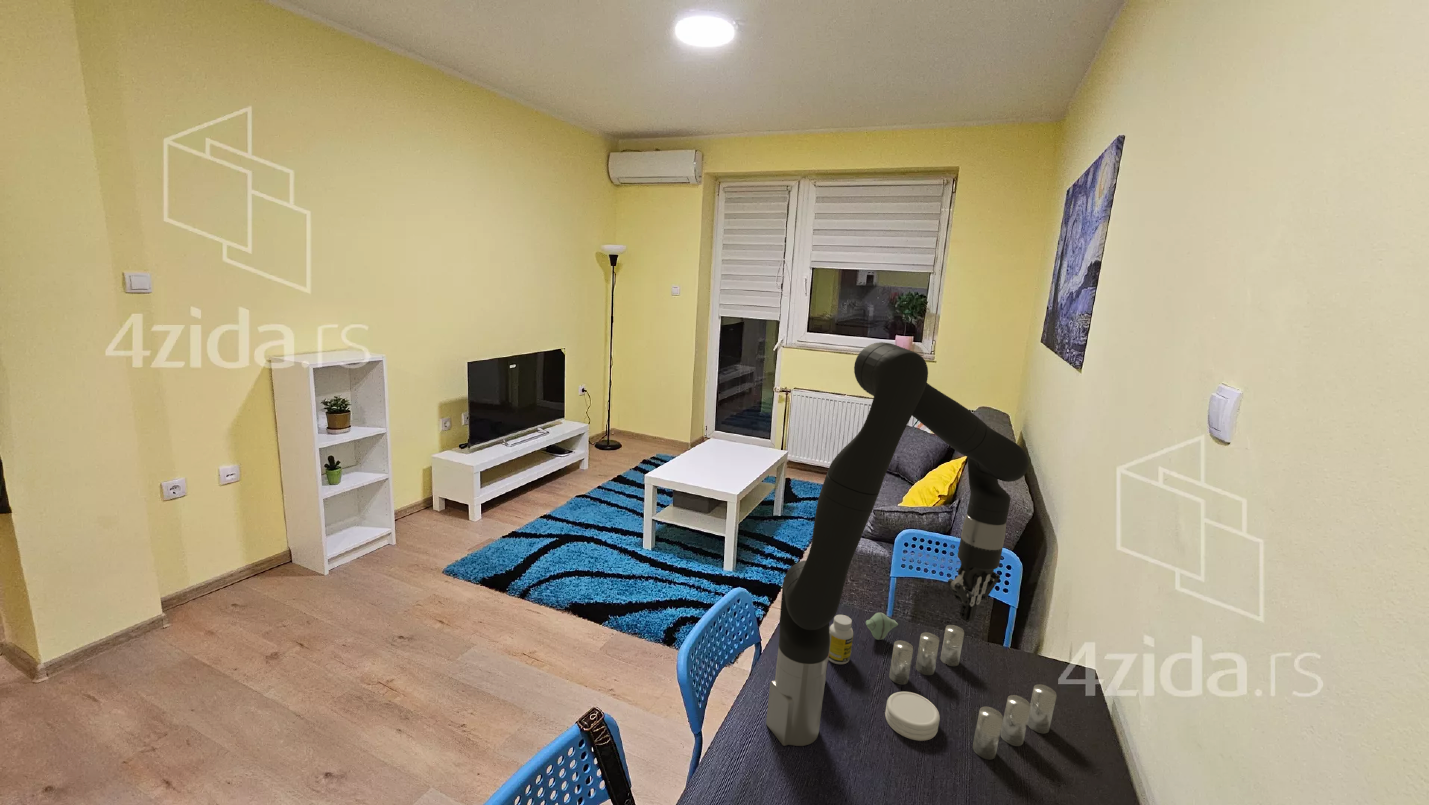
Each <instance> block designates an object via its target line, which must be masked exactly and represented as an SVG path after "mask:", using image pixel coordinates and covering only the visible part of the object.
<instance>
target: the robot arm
mask: <svg viewBox="0 0 1429 805" xmlns="http://www.w3.org/2000/svg"><path fill="white" fill-rule="evenodd" d="M853 370H854V371H853V373H854V376H855V379H856V381H857V384H858V385H859V386H860V388H862V389H863V391H865V392H866V393H867V394H869V395H871V396H873V398H872V402H871V405H870V408H869V411H868V414H867V416H866V419H865V421H864V423H863V426H862V427H861V429H860V431H859V432H858V433H857V434H856V436H855V437H854V438H853V439H852V440H850V442H848V443H847V444H846V445H845V447H843V449H841V450H840V451H839V452H838V454H837V455H836V456H835V457H834V458H833V460H832V462H831V463H830V465H829V467H828V470H827V471H826V472H827V473H826V475H825V478H824V480H823V484H822V486H821V489H820V492H819V496H818V498H817V499H818V500H817V504H816V508H815V515H814V522H813V531H812V538H811V543H810V549H809V551H808V552H809V553H808V554H807V557H806V560H802V561H798V562H797V563H795V564H793V565H791V567H790V568H789V569H788V570H787V572H786V573H785V576H784V579H783V583H782V588H781V589H782V591H781V601H780V612H779V613H780V615H779V631H778V632H779V635H778V636H779V637H778V648H777V657H776V667H775V677H774V680H770V684H769V693H768V702H767V712H766V714H767V715H766V721H765V722H766V724H765V725H766V726H767V728H768V729H770V731H771V732H772V733H773V735H774V736H775V738H777V741H779V742H780V743H781V745H782V746H784V747H785V746H788V745H789V746H796V747H803V746H807V745H810V744H813V743H814V742H815V741H816V740H817V739H818V736H819V732H820V724H821V717H822V716H821V715H822V709H823V701H824V692H825V686H826V685H825V684H826V682H825V678H826V679H827V676H826V670H827V671H828V668H827V663H828V664H829V660H828V655H829V647H830V633H829V628H830V623H831V621H832V620H834V617H835V616H836V615H837V612H838V609H839V607H840V603H841V599H842V595H843V591H844V588H845V583H846V579H847V576H848V572H849V569H850V566H851V562H852V560H853V557H854V555H855V552H856V551H857V549H858V546H859V544H860V541H861V539H862V536H863V534H864V531H865V529H866V526H867V524H868V521H869V519H870V516H871V515H872V512H873V510H874V507H875V504H876V502H877V500H878V497H879V494H880V492H881V488H882V485H883V482H884V479H885V476H886V474H887V473H888V472H887V471H888V469H889V467H890V465H891V462H892V459H893V457H894V454H895V452H896V450H897V447H898V445H899V443H900V440H901V438H902V436H903V434H904V432H905V430H906V428H907V426H908V425H909V424H908V423H909V422H910V420H911V419H912V417H913V418H914V419H916V421H918V422H919V423H920V424H922V425H923V426H924V427H926V428H927V429H928V430H929V431H930V432H932V433H933V434H934V435H935V436H936V437H938V438H939V439H941V441H943V442H944V443H945V444H947V445H948V446H950V447H951V448H952V449H954V451H956V452H958V453H959V454H960V455H963V456H964V457H967V474H968V484H969V485H968V486H969V492H970V495H969V498H968V506H967V512H966V515H965V517H964V521H963V525H962V528H961V529H962V530H961V536H960V540H959V546H958V552H957V558H958V559H959V562H960V567H959V568H958V571H957V576H956V577H955V578H954V579H952V578H949V579H948V580H947V584H948V587H949V589H950V591H951V593H952V595H953V597H954V599H955V600H957V601H958V602H959V603H961V606H960V611H959V617H960V619H962V620H963V621H964V622H966V623H970V622H974V620H975V616H976V613H977V607H978V605H980V603H981V601H986V599H987V598H988V597H989V595H990V594H991V592H992V590H994V588H995V587H996V584H997V583H998V582H999V581H1000V579H1001V575H1000V574H998V573H996V572H995V571H994V570H996V569H998V568H999V567H1000V562H1001V558H1002V552H1003V548H1004V543H1005V537H1006V532H1007V531H1006V530H1007V519H1008V516H1009V510H1010V506H1011V497H1010V495H1009V493H1008V492H1007V491H1006V490H1005V489H1004V488H1003V487H1001V485H1000V483H999V481H1002V482H1007V483H1011V482H1016V481H1018V480H1021V478H1023V477H1024V476H1025V475H1026V473H1027V472H1028V469H1029V458H1028V455H1027V452H1026V451H1025V450H1024V449H1023V448H1022V447H1021V446H1020V445H1019V444H1017V442H1014V440H1011V439H1010V438H1008V437H1006V436H1005V435H1003V434H1001V433H999V432H997V431H996V430H994V429H993V428H991V427H989V425H987V424H986V423H985V422H984V421H983V420H982V419H981V418H979V417H978V416H977V415H976V414H975V413H973V412H972V411H971V410H970V409H968V408H967V407H965V406H964V405H962V404H960V403H959V402H957V401H956V400H954V399H953V398H951V397H949V396H948V395H946V394H945V393H943V392H941V391H940V390H938V389H937V388H936V387H934V386H932V385H931V384H930V383H928V378H929V368H928V365H927V361H926V359H924V357H923V356H921V355H920V354H919V353H918V352H915V351H913V350H910V349H907V348H906V347H905V348H904V347H901V346H899V345H897V344H893V343H890V342H882V341H881V342H880V341H879V342H875V343H870V344H869V345H867V346H865V347H864V348H863V349H862V350H861V351H860V352H859V353H858V355H857V357H856V358H855V362H854V367H853Z"/></svg>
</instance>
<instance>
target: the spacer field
mask: <svg viewBox="0 0 1429 805" xmlns="http://www.w3.org/2000/svg"><path fill="white" fill-rule="evenodd" d="M944 630H945V631H944V634H943V642H942V647H941V653H940V658H939V659H940V661H941V662H942V663H943V664H944V665H946V664H947V665H946V666H950V667H957V666H959V664H960V659H961V653H962V648H963V647H962V646H963V642H964V636H965V630H964V629H963V628H962V627H961V626H958V625H955V624H948V625H946V626H945V629H944ZM939 645H940V637H938V635H936V634H934V633H931V632H928V631H927V632H922V633H921V634H920V638H919V643H918V649H917V656H916V662H915V670H916V672H918V673H920V674H922V675H924V676H932V675H934V674H935V670H936V663H937V656H938V651H939ZM913 652H914V647H913V645H912V644H911V643H909V642H908V641H906V640H896V641H894V643H893V649H892V655H891V660H890V668H889V675H888V676H889V679H890V680H891V682H893V683H894V684H896V685H906V684H908V683H909V679H910V678H909V677H910V671H911V666H912V658H913ZM1057 696H1058V695H1057V692H1056V691H1055V690H1054V689H1053V688H1051V687H1050V686H1048V685H1045V684H1040V683H1039V684H1035V685H1034V686H1033V689H1032V694H1031V699H1030V702H1029V701H1028V700H1027V699H1026V698H1025V697H1022V696H1020V695H1017V694H1011V695H1009V696H1008V697H1007V700H1006V705H1005V709H1004V715H1002V713H1001V712H1000V711H999V710H998V709H996V708H993V707H991V706H982V707H980V708H979V711H978V717H977V722H976V726H975V731H974V737H973V742H972V743H973V744H972V750H973V752H974V753H975V755H977V756H979V757H980V758H982V759H984V760H990V761H991V760H994V759H995V758H996V756H997V751H998V745H999V740H1000V737H1001V739H1002V740H1003V741H1004V742H1005V743H1007V744H1008V745H1011V746H1014V747H1020V746H1022V745H1023V744H1024V741H1025V736H1026V731H1027V726H1028V727H1029V729H1031V730H1032V731H1034V732H1035V733H1039V734H1048V733H1049V732H1050V729H1051V728H1050V727H1051V724H1052V718H1053V713H1054V709H1055V704H1056V700H1057Z"/></svg>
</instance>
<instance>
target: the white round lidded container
mask: <svg viewBox="0 0 1429 805" xmlns="http://www.w3.org/2000/svg"><path fill="white" fill-rule="evenodd" d="M885 706H886V707H885V714H884V715H885V719H886V720H885V721H886V723H887V725H889V727H890V728H891V729H892V730H893V731H894V732H895V733H897V734H899V735H901V736H902V737H905V738H907V739H909V740H912V741H917V742H918V741H919V742H923V741H924V742H925V741H928V740H931V739H933V738H934V737H935V736H936V735H937V733H938V731H939V726H940V725H939V724H940V721H941V720H940V719H941V718H940V717H941V716H940V712H939V710H938V708H937V707H936V706H935V704H933V702H931V701H930V700H929V699H927V698H926V697H924V696H922V695H921V694H918V693H915V692H911V691H897V692H894V693H892V694H891V695H890V696H889V697H888V698H887V700H886V705H885Z"/></svg>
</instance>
